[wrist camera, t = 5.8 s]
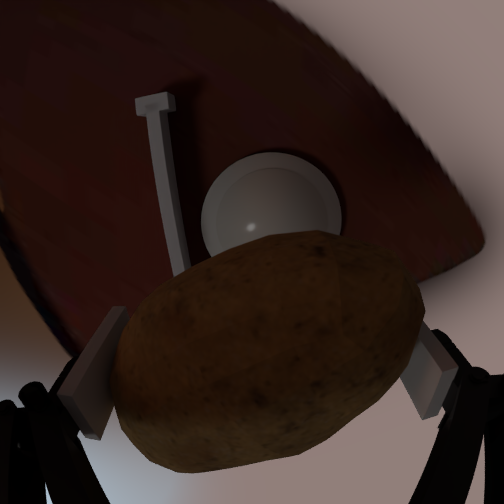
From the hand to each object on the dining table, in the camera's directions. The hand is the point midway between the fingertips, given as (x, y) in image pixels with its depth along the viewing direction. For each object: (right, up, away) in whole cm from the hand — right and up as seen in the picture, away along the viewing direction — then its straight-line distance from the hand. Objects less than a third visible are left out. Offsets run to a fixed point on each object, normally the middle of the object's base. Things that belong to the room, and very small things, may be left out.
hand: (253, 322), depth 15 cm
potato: (0, +1, +1) cm, 1 cm away
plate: (+2, +6, +16) cm, 17 cm away
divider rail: (-8, +7, +15) cm, 19 cm away
